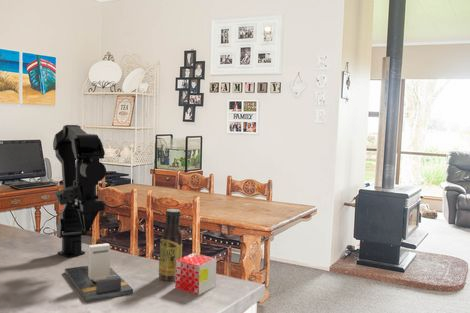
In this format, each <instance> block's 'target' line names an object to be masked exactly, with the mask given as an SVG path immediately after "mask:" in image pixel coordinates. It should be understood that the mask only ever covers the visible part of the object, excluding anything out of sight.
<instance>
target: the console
mask: <svg viewBox="0 0 470 313" xmlns="http://www.w3.org/2000/svg"><path fill="white" fill-rule="evenodd" d="M64 274H65V275H66V277H67V278H68V279H69V281H70V282H71V283H72V285H73V286H74V287H75V289H76V290H77V292H78V293H79V294H80V296H81V297H82V298H83V299H84V301H85V302H86V303H87V302H93V301H98V300H99V301H100V300H103V299H110V298H111V299H112V298H115V297H116V298H118V297H121V296H127V295H134V288H132V287H131V286H130V285H129V284H128V282H126V281H125V280H124V279H123V278H122V277H121V276H120V275H119V274H118V273H117V272H116V271H115V270H113V269H112V267H110V277H107V279H105V280H99V281H96V282H94V281H93V279H90V278H89V277H88V265H84V266H83V265H82V266H76V267H68V268H67V267H66V268H64Z"/></svg>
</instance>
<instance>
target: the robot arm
mask: <svg viewBox="0 0 470 313" xmlns="http://www.w3.org/2000/svg"><path fill="white" fill-rule="evenodd" d="M52 147H53V148H52V149H53V151H55V157H56V159H57V160H58V161H59V162H60V164H61V173H62V174H61V177H62V189H60V190H58V191H55V192H54V197H55V198H56V201H57V203H58V204H59V205H60V206H63V205H64V207H63V209H62V210H61V213H59V219H58V222H57V226H56V235H57V237H58V238H59V239H61V250H59V251H57V254H58V255H61V256H64V257H66V258H71V257H75V256H76V257H77V256H79V255H84V254H86V251H84V250H82V248H83V247H82V246H83V245H82V243H83V242H82V236H87V235H88V232H89V231H90V230H91V228H92V226H93V224H94V222H95V220H96V217H97V216H98V214H99V213H100V212H104V211H106V203H105V202H104V201H103V200H102V199H100V198H99V195H98V194H97V186H99V182H101V181H102V180H104V178H105V177H106V175H107V168H106V166H105V164H104V163H103V162H101V161H100V159H102V160H103V159H104V158H105V154H106V153H105V148H104V145H103V142H102V141H101V138H100V136H99V135H98V134H95V133H87V132H86V131H84V129H82V127H81V126H80V125H78V124H66V125H63V127H62V129H61V130H60V131H58V132H56V134H55V135H54V138H53V140H52Z"/></svg>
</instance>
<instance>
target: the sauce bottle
mask: <svg viewBox="0 0 470 313" xmlns="http://www.w3.org/2000/svg"><path fill="white" fill-rule="evenodd" d="M165 216H166V218H165V226H164V229H163V232H162V234H161V237H160V243H159V244H160V245H159V261H158V277H159V279H160V280H162V281H168V282H173V281H175V277H176V260H177V259H180V258H182V257H183V256H182V254H183V232H182V230H181V228H180V216H181V210H180V209H177V208H169V209H168V208H167V209H166V210H165Z"/></svg>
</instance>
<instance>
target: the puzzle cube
mask: <svg viewBox="0 0 470 313" xmlns="http://www.w3.org/2000/svg"><path fill="white" fill-rule="evenodd" d="M216 280H217V258H216V257H212V256H207V255H203V254H200V253H199V254H198V253H194V252H193V253H190V254H188V255H184V256H182V257H181V258H180V259H177V260H176V277H175V280H174V281H175V285H174V287H175V289H178V290H179V291H180V290H181V291H184V292H186V293H187V292H188V293H191V294H195V295H201V294H203V293H205V292H207V291H209V290H210V289H212V288H214V287H216V284H217V281H216Z"/></svg>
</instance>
